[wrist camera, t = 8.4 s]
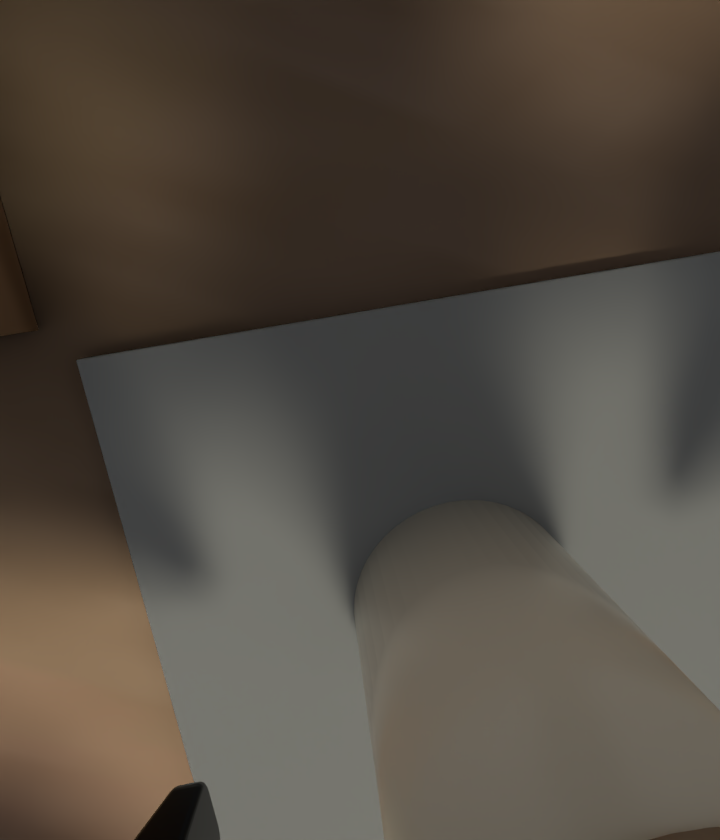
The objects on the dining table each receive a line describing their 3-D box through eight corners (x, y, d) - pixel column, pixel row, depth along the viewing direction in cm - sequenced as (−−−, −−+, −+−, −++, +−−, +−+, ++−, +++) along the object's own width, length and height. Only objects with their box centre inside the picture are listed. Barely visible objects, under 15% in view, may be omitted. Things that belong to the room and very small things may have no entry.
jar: (565, 475, 11) (1151, 909, 3) (581, 678, 12) (1054, 1359, 4) (330, 519, 11) (379, 1086, 3) (368, 722, 12) (475, 1513, 4)
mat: (732, 249, 11) (744, 247, 10) (735, 774, 14) (744, 784, 13) (82, 358, 10) (76, 360, 10) (227, 881, 13) (225, 895, 13)
